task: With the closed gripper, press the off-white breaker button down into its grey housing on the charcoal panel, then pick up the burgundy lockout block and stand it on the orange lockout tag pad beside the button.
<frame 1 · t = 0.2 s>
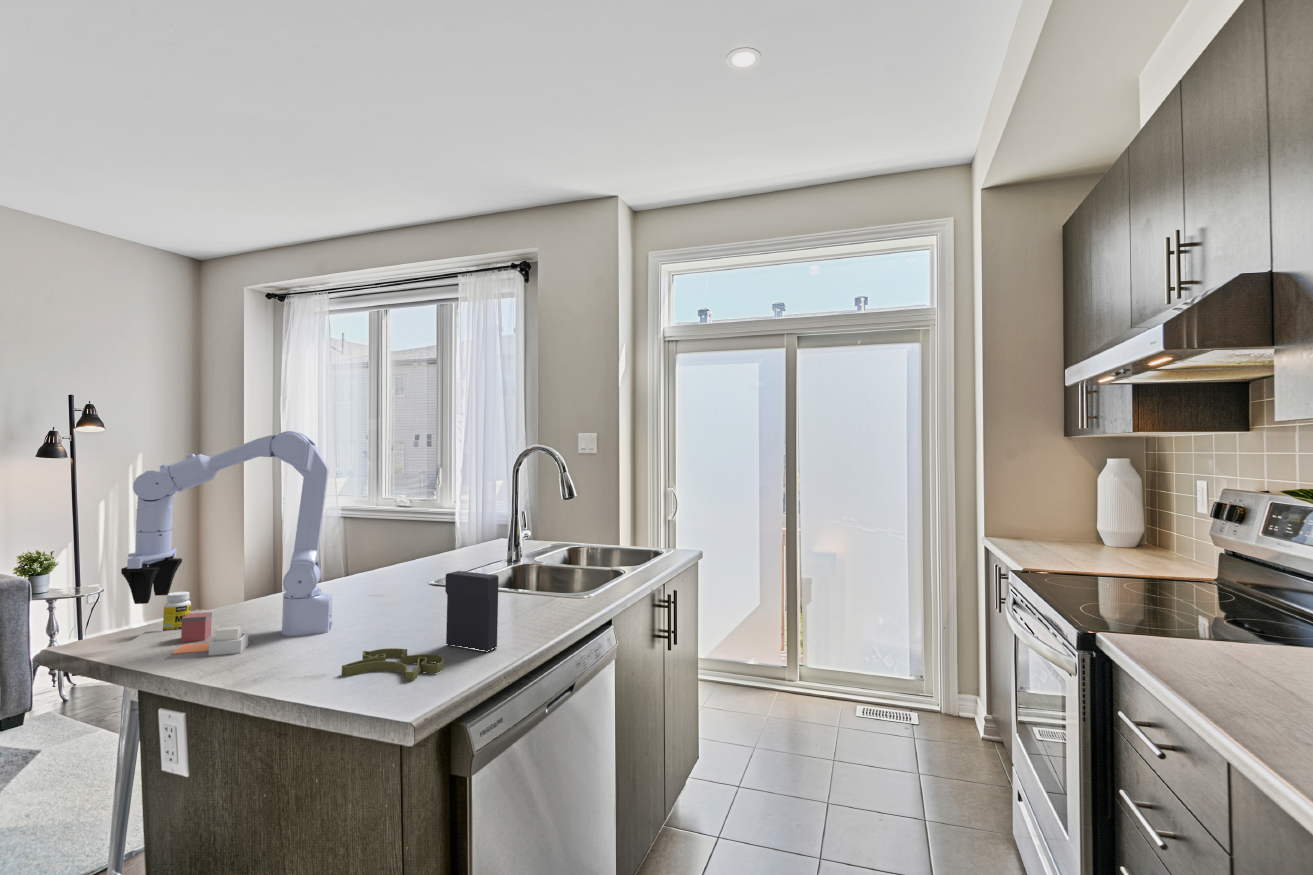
hand: (151, 599, 126), 10 cm above the countertop, tool pointing down, fingers open, 7 cm apart
charcoal upright slab: (471, 648, 130), on the countertop
cookie cutter: (396, 671, 117), on the countertop
lockout block: (196, 644, 130), on the countertop
supplement bottle: (176, 632, 138), on the countertop
breaker button: (229, 634, 122), point 4 cm above the countertop, slide at 0.0 cm
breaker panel: (210, 655, 122), on the countertop
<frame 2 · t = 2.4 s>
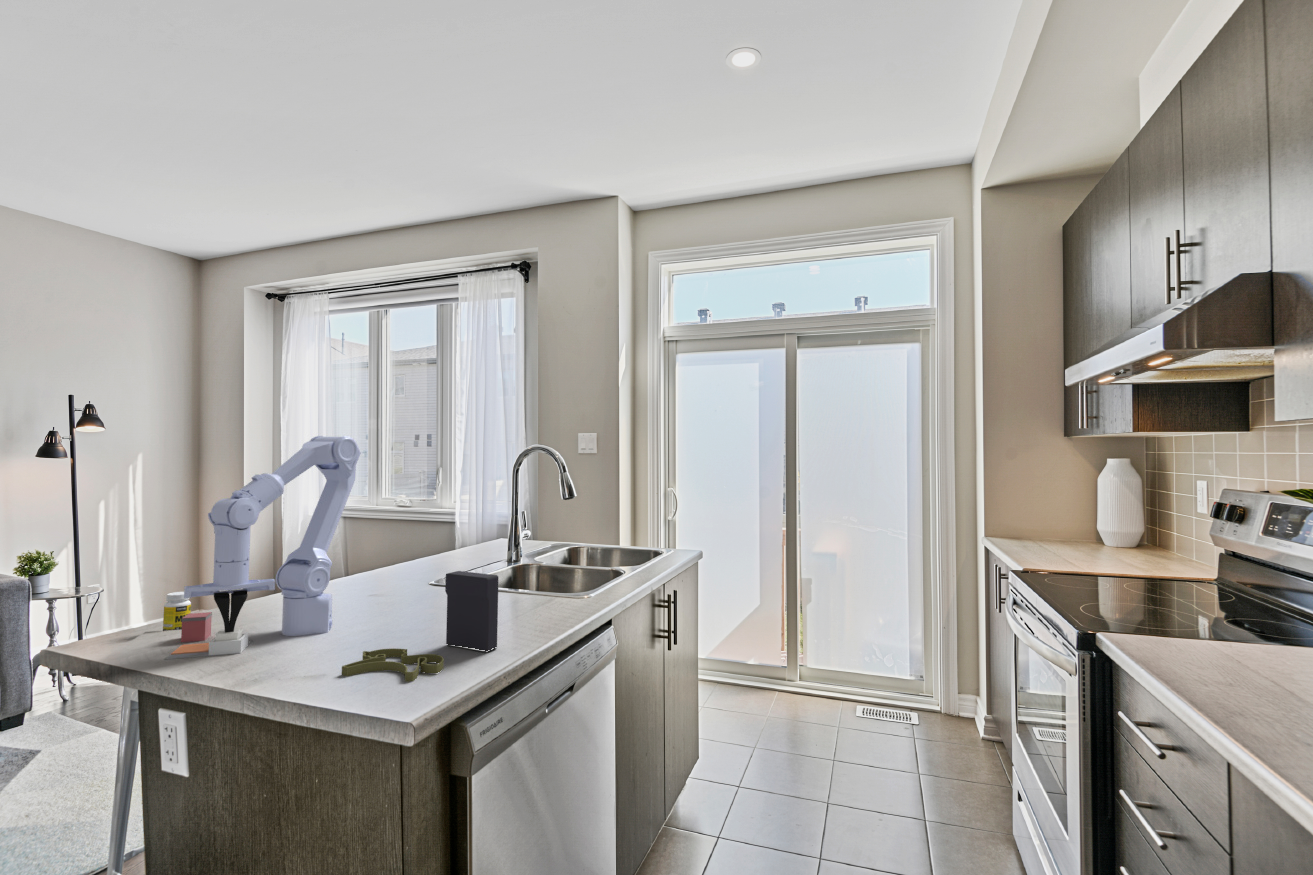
hand: (229, 631, 122), 5 cm above the countertop, tool pointing down, fingers closed, pressing on breaker button
breaker button: (229, 638, 122), point 3 cm above the countertop, slide at 0.7 cm, touching gripper
everything else where it was.
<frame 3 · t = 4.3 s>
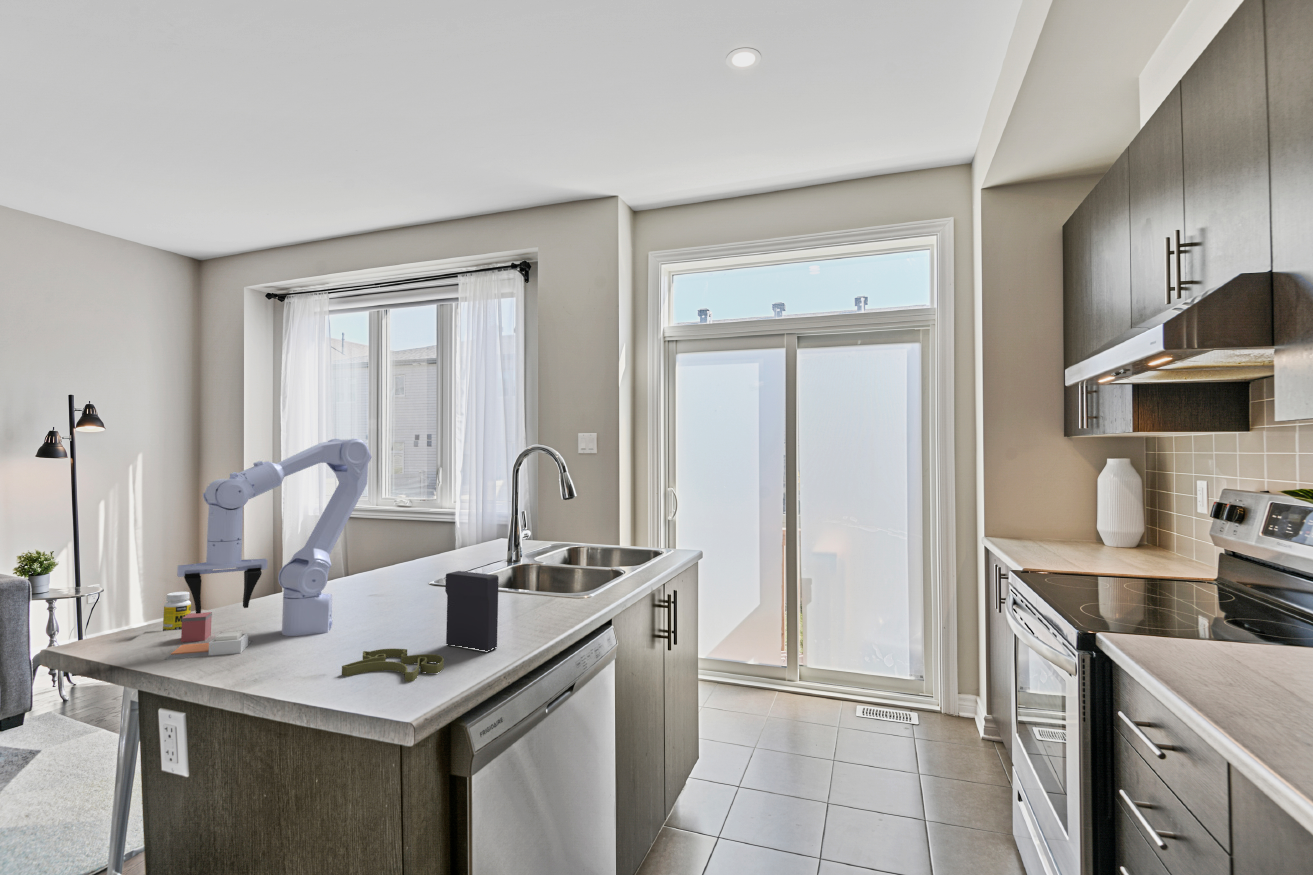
hand: (222, 609, 124), 9 cm above the countertop, tool pointing down, fingers open, 7 cm apart
breaker button: (229, 641, 122), point 3 cm above the countertop, slide at 1.2 cm
everything else where it was.
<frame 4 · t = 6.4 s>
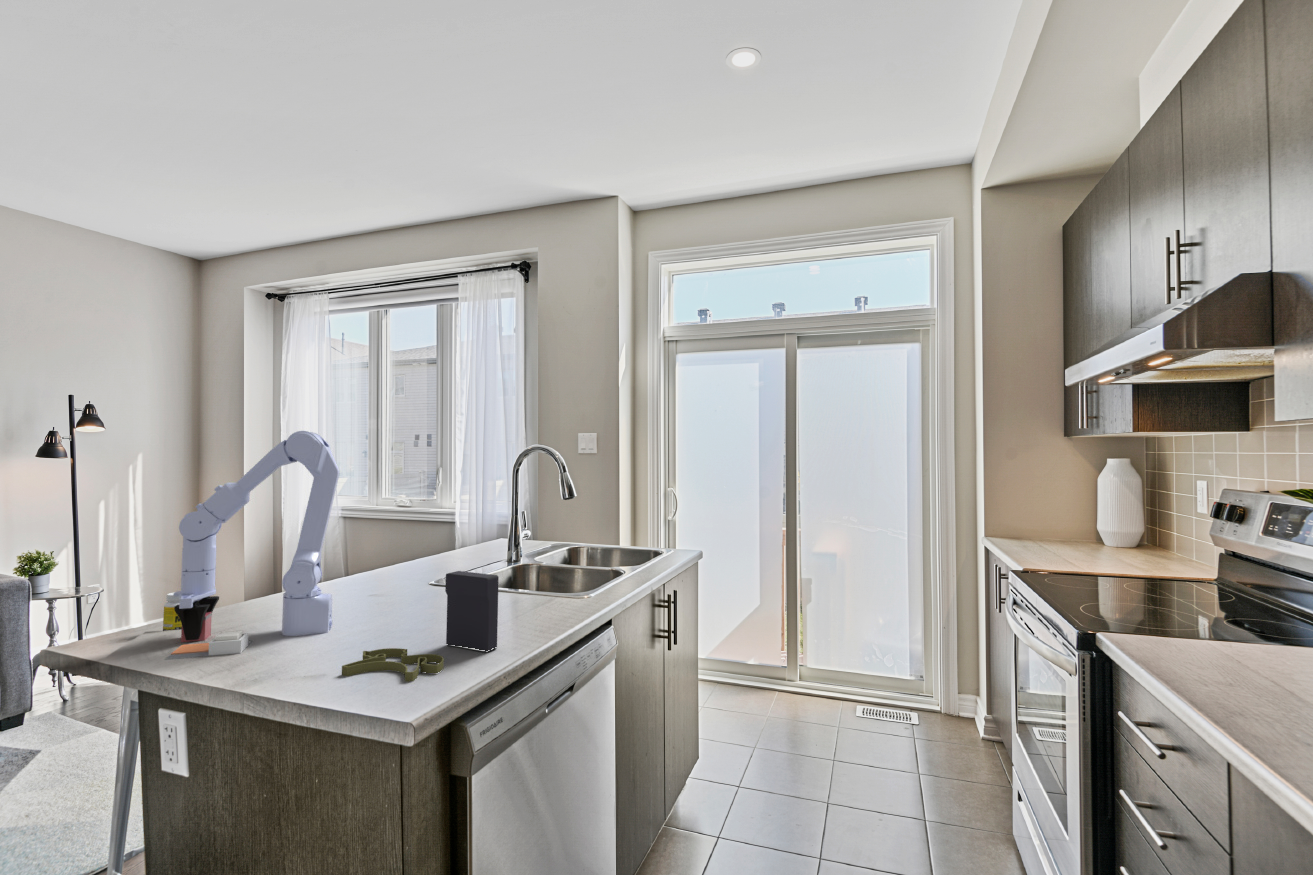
hand: (196, 636, 130), 2 cm above the countertop, tool pointing down, fingers closed on lockout block, 4 cm apart
lockout block: (196, 644, 130), on the countertop, touching gripper
everything else where it was.
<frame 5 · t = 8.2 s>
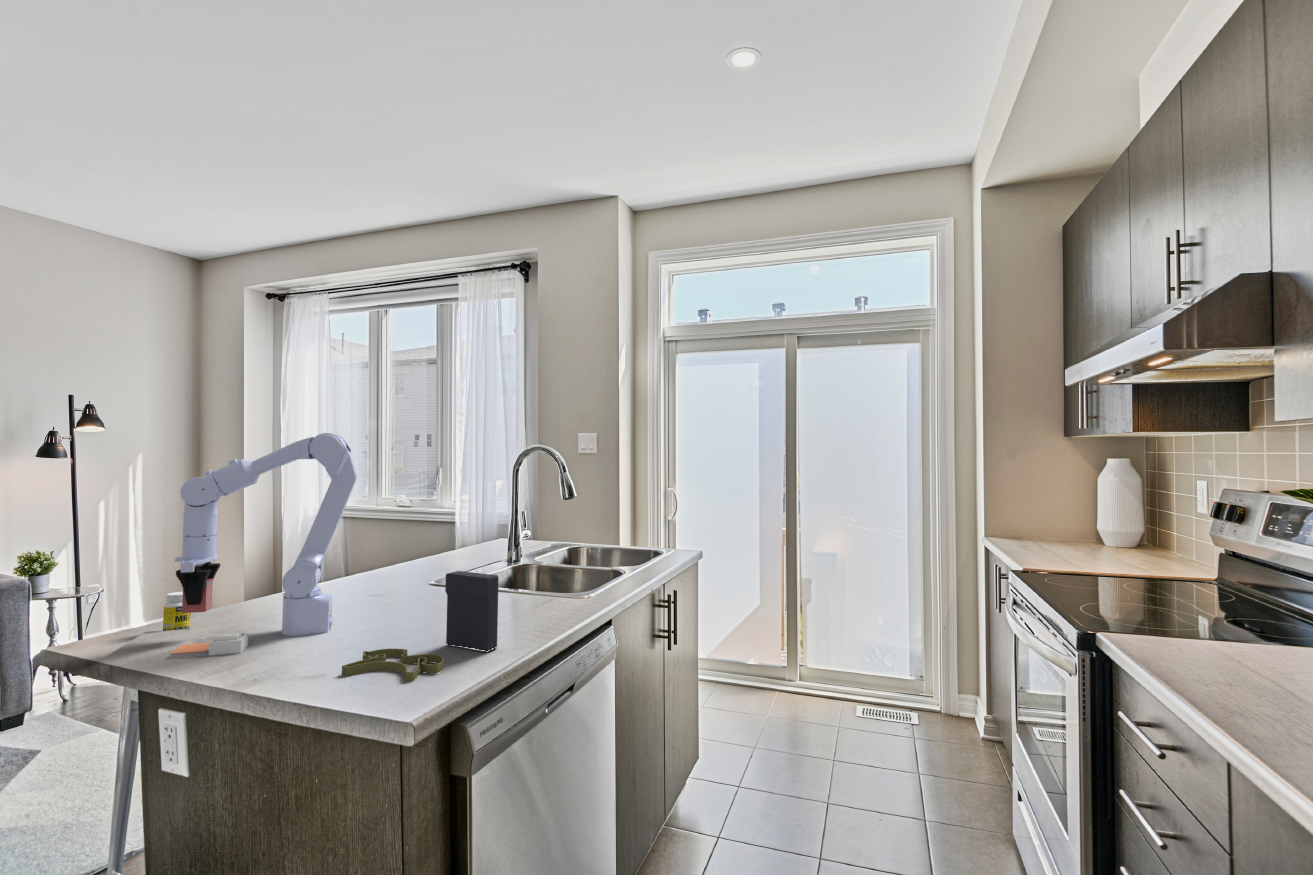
hand: (197, 601, 130), 9 cm above the countertop, tool pointing down, fingers closed on lockout block, 4 cm apart
lockout block: (197, 610, 130), point 7 cm above the countertop, touching gripper
everything else where it was.
when the fingers open (5 cm above the countertop, at t = 10.3 s): lockout block drops 1 cm, resting on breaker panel.
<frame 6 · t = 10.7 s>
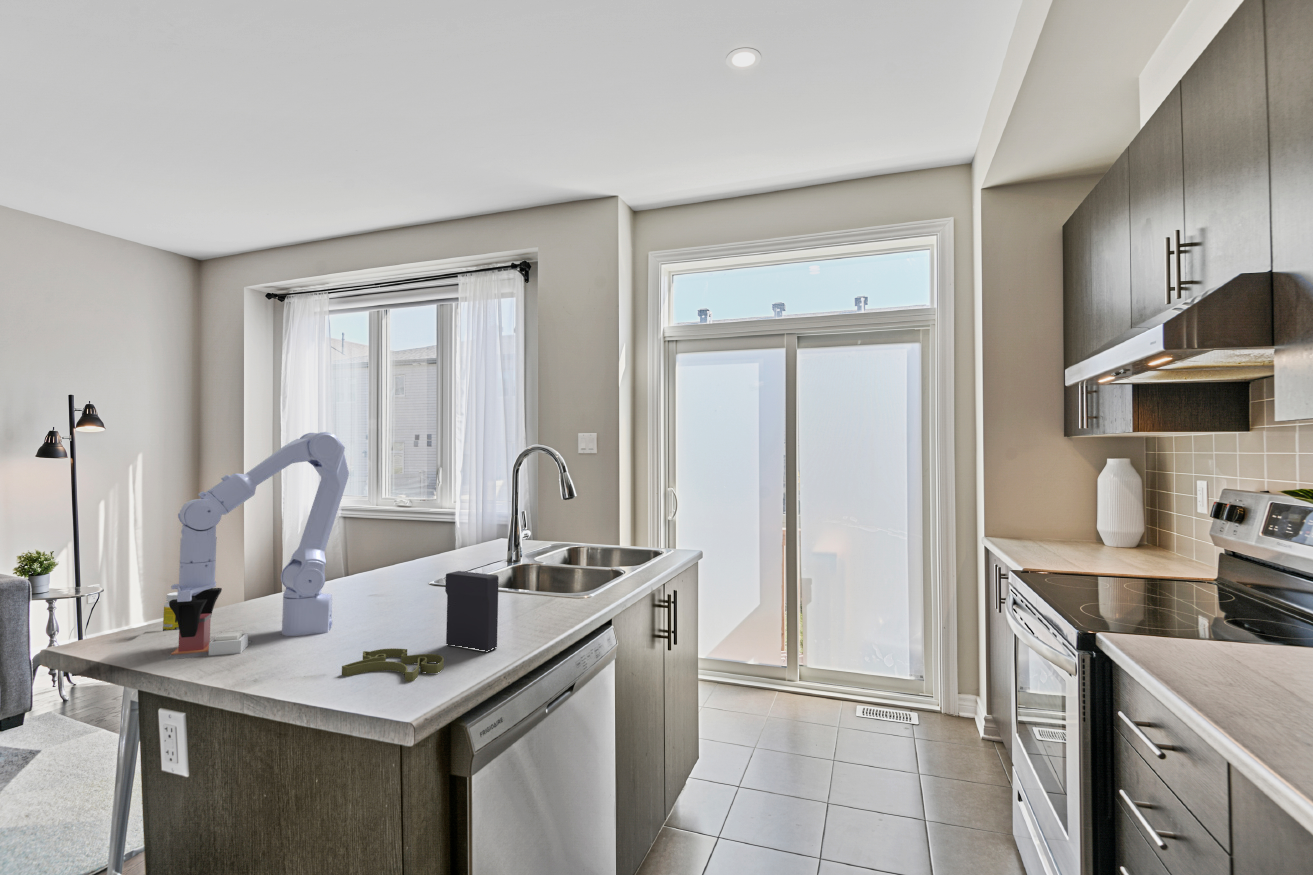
hand: (195, 631, 123), 5 cm above the countertop, tool pointing down, fingers open, 7 cm apart
lockout block: (194, 647, 123), point 1 cm above the countertop, touching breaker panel
everything else where it was.
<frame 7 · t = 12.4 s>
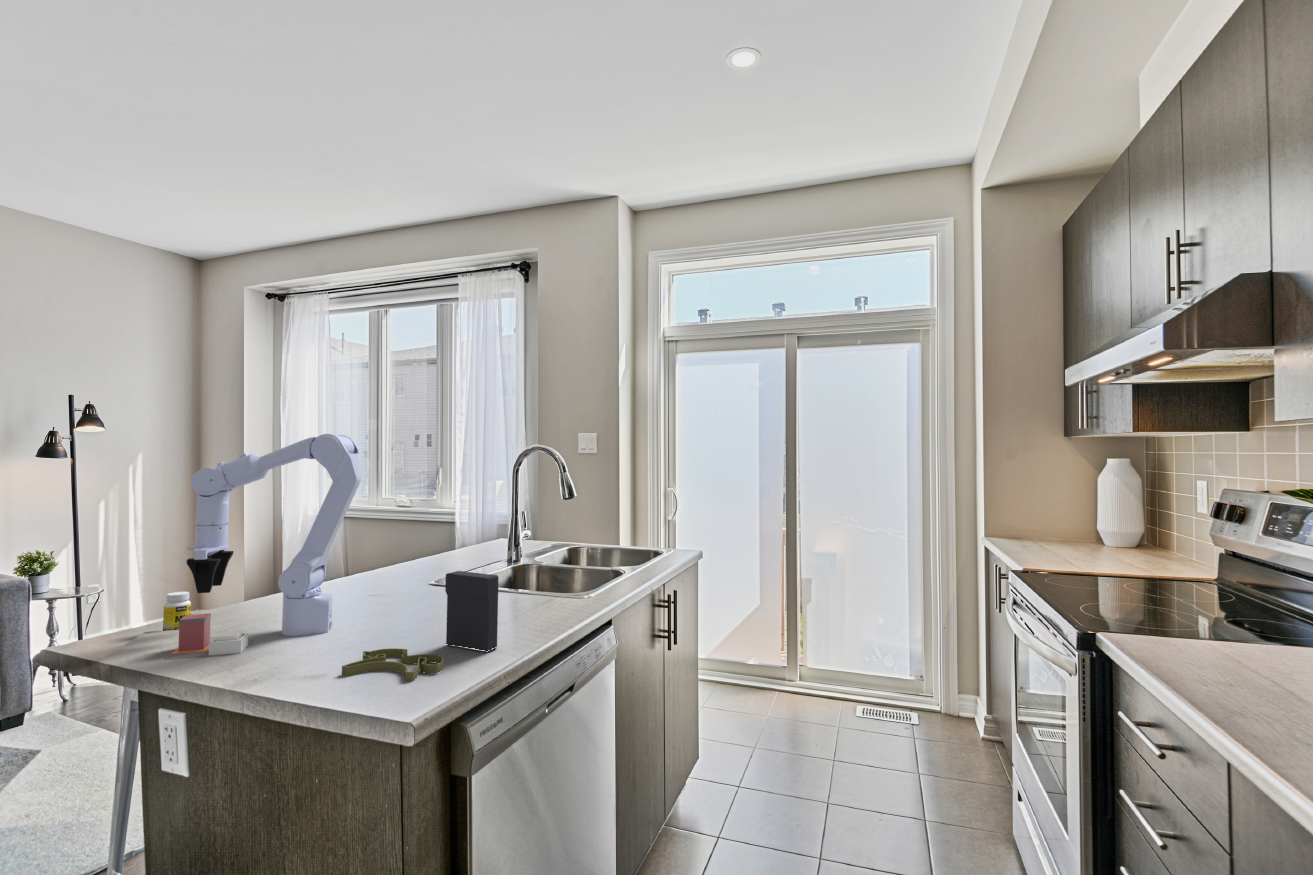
hand: (209, 588, 134), 10 cm above the countertop, tool pointing down, fingers open, 7 cm apart
nothing on the countertop moved.
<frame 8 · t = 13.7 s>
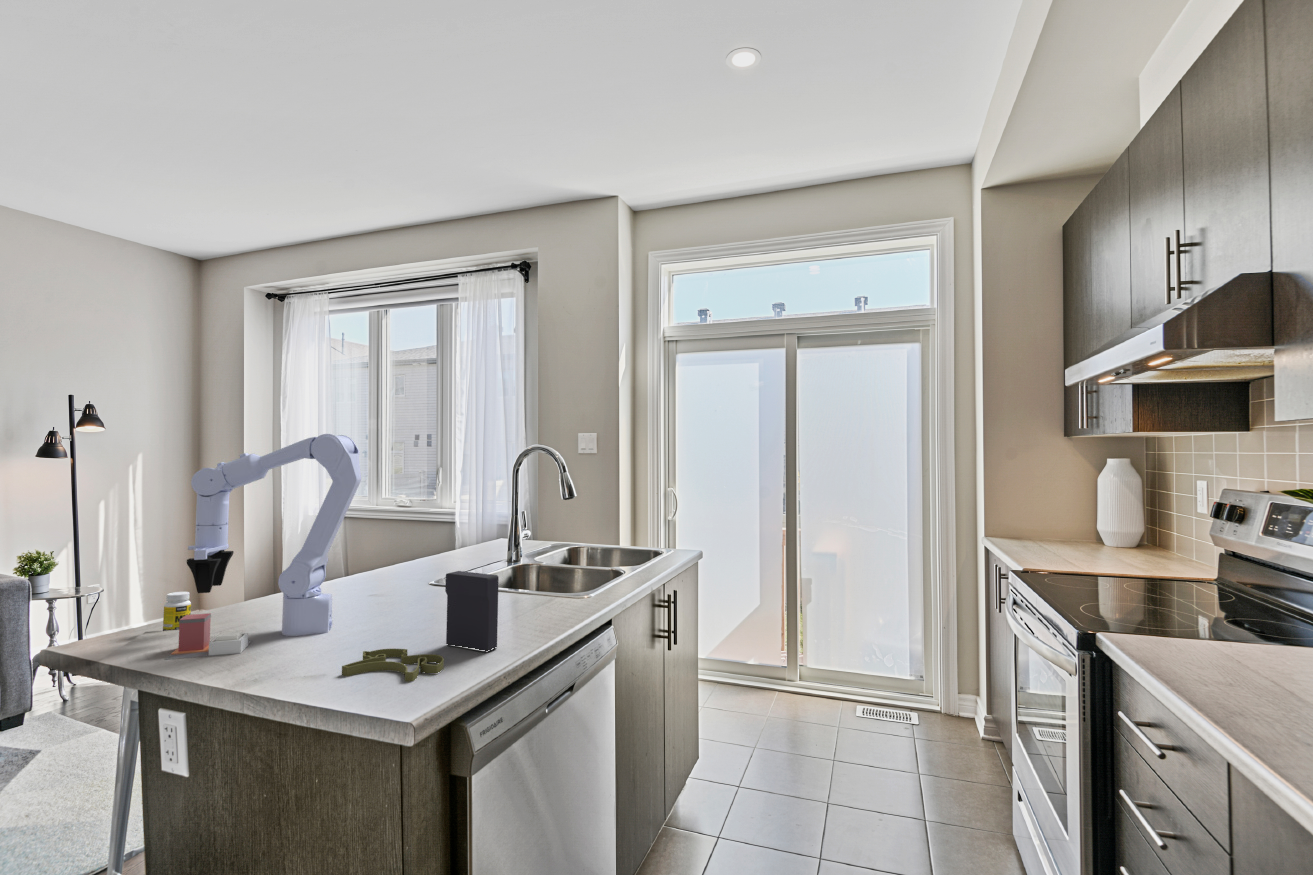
hand: (209, 588, 134), 10 cm above the countertop, tool pointing down, fingers open, 7 cm apart
nothing on the countertop moved.
at the end: breaker button slide at 1.2 cm; lockout block 0.1 cm from the target spot on the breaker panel, point 1.4 cm above the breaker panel's base; lockout block tilted 0° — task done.
